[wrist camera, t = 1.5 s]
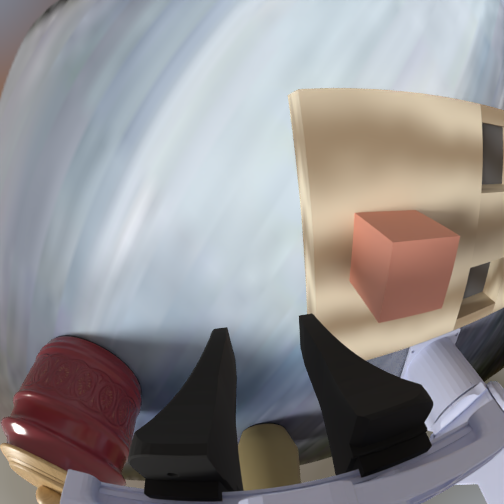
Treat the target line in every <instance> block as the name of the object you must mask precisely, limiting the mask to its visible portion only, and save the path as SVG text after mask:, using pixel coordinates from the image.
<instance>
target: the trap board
mask: <svg viewBox="0 0 504 504" xmlns="http://www.w3.org/2000/svg"><path fill="white" fill-rule="evenodd" d="M288 101H289V108H290V115H291V123H292V130H293V138H294V147H295V155H296V164H297V174H298V184H299V194H300V205H301V216H302V229H303V242H304V257H305V273H306V292H307V314H311V313H312V314H313V315H315V317H316V318H317V319H318V320H319V321H320V322H321V323H322V324H323V325H324V326H325V327H326V328H327V330H328V331H330V332H331V333H332V334H333V335H334V336H335V337H336V338H337V339H338V340H339V341H340V342H341V343H343V344H344V345H345V346H346V347H347V348H349V349H350V350H351V351H353V352H354V353H355V354H357V355H358V356H359V357H361V358H362V359H364V360H369V359H372V358H376V357H379V356H383V355H386V354H389V353H392V352H396V351H399V350H402V349H405V348H408V347H411V346H414V345H416V344H419V343H422V342H425V341H428V340H430V339H433V338H436V337H438V336H441V335H443V334H446V333H448V332H451V331H453V330H456V329H458V328H460V327H463V326H465V325H467V324H470V323H472V322H474V321H476V320H479V319H481V318H483V317H485V316H487V315H489V314H491V313H493V312H495V311H497V310H499V309H501V308H503V307H504V110H501V109H497V108H494V107H490V106H486V105H482V104H477V103H473V102H468V101H464V100H459V99H453V98H448V97H442V96H435V95H429V94H421V93H413V92H404V91H392V90H378V89H355V88H320V89H298V90H296V91H294V92H292V93H291V94H289V95H288ZM402 210H417V211H418V212H420V213H422V214H424V215H426V216H427V217H429V218H431V219H433V220H434V221H436V222H438V223H440V224H441V225H443V226H445V227H446V228H448V229H450V230H451V231H453V232H455V233H456V234H458V235H459V236H460V239H459V244H458V249H457V254H456V258H455V263H454V267H453V271H452V275H451V279H450V282H449V286H448V290H447V293H446V296H445V300H444V303H443V306H442V308H441V309H437V310H433V311H430V312H426V313H422V314H417V315H413V316H409V317H405V318H400V319H396V320H391V321H386V322H381V323H378V322H377V320H376V319H375V317H374V316H373V314H372V313H371V311H370V310H369V308H368V307H367V305H366V304H365V303H364V301H363V300H362V298H361V297H360V295H359V294H358V293H357V291H356V290H355V288H354V287H353V285H352V284H351V283H350V281H349V278H350V268H351V257H352V245H353V232H354V215H355V213H359V212H379V211H402Z"/></svg>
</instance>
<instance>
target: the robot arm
mask: <svg viewBox="0 0 504 504" xmlns="http://www.w3.org/2000/svg"><path fill="white" fill-rule="evenodd" d="M299 326H300V345H301V351H302V355H303V359H304V363H305V367H306V370H307V372H308V375H309V378H310V380H311V383H312V385H313V388H314V391H315V393H316V396H317V398H318V401H319V404H320V407H321V410H322V414H323V418H324V422H325V427H326V431H327V435H328V440H329V444H330V449H331V454H332V458H333V464H334V468H335V474H336V476H332V477H328V478H324V479H320V480H315V481H310V482H305V483H300V484H294V485H288V486H282V487H275V488H267V489H258V490H248V491H244V490H243V483H242V476H241V469H240V461H239V452H238V443H237V432H236V384H237V375H236V364H235V356H234V352H233V349H232V345H231V341H230V337H229V333H228V329H227V327H226V328H219V329H214V330H213V331H212V333H211V336H210V338H209V341H208V343H207V345H206V348H205V350H204V352H203V354H202V356H201V358H200V360H199V362H198V363H197V365H196V367H195V368H194V370H193V372H192V373H191V375H190V377H189V378H188V380H187V381H186V383H185V384H184V385H183V387H182V388H181V389H180V391H179V392H178V393H177V394H176V396H175V397H174V398H173V399H172V400H171V401H170V402H169V404H168V405H167V406H166V407H165V408H164V409H163V410H162V411H160V412H159V413H158V414H157V415H156V416H155V417H154V418H153V419H152V420H151V421H149V422H148V423H147V424H145V425H144V426H143V427H141V428H140V429H139V430H137V431H136V432H135V433H134V436H133V439H132V442H131V446H130V451H129V456H128V463H129V464H130V465H131V466H132V468H133V469H135V470H136V471H137V472H138V473H139V474H141V475H142V476H143V477H144V478H146V479H145V488H144V489H141V488H133V487H126V486H120V485H115V484H109V483H104V482H100V481H99V480H98V479H97V478H96V477H94V476H92V475H90V474H87V473H83V472H79V471H75V470H71V469H68V472H67V475H66V479H65V483H64V487H63V491H62V495H61V499H60V504H421V503H423V502H425V501H427V500H429V499H431V498H433V497H435V496H436V495H438V494H440V493H442V492H444V491H445V490H447V489H449V488H450V487H452V486H454V485H466V484H478V485H479V487H480V489H481V491H482V494H483V495H484V498H485V500H486V502H487V504H504V388H503V387H502V386H501V385H500V384H499V383H498V382H497V381H490V382H489V383H488V384H485V383H484V382H483V380H482V379H481V378H480V376H479V375H478V374H477V372H476V371H475V370H474V369H473V367H472V366H471V365H470V363H469V362H468V361H467V359H466V358H465V357H464V356H463V354H462V353H461V352H460V351H459V349H458V348H457V347H456V346H455V343H456V341H457V338H458V335H459V333H460V328H458V329H456V330H453V331H451V332H448V333H446V334H443V335H441V336H438V337H436V338H433V339H430V340H428V341H425V342H422V343H419V344H416V345H414V346H411V347H410V348H409V352H408V355H407V358H406V362H405V365H404V368H403V371H402V374H401V377H397V376H395V375H392V374H390V373H388V372H386V371H384V370H382V369H380V368H378V367H376V366H374V365H372V364H370V363H369V362H367V361H365V360H364V359H362V358H361V357H359V356H358V355H357V354H355V353H354V352H353V351H351V350H350V349H349V348H347V347H346V346H345V345H344V344H343V343H341V342H340V341H339V340H338V339H337V338H336V337H335V336H334V335H333V334H332V333H331V332H330V331H328V330H327V328H326V327H325V326H324V325H323V324H322V323H321V322H320V321H319V320H318V319H317V318H316V317H315V315H313V314H312V313H311V314H306V315H301V316H299ZM427 430H428V431H433V434H431V436H430V440H429V438H428V436H427V434H426V431H427Z"/></svg>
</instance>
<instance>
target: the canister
mask: <svg viewBox="0 0 504 504" xmlns="http://www.w3.org/2000/svg"><path fill="white" fill-rule="evenodd" d="M141 402H142V401H141V387H140V384H139V382H138V380H137V378H136V376H135V375H134V373H133V372H132V371H131V370H130V369H129V368H128V366H127V365H126V364H124V363H123V362H122V361H121V360H120V359H119V358H117V357H116V356H115V355H113V354H112V353H110V352H109V351H107V350H106V349H104V348H102V347H100V346H98V345H96V344H94V343H92V342H90V341H87V340H84V339H80V338H76V337H70V336H62V337H57V338H54V339H52V340H51V341H49V342H48V344H47V345H45V346H44V347H43V348H42V349H41V350H40V352H39V353H38V355H37V357H36V360H35V363H34V365H33V366H32V368H31V370H30V372H29V373H28V375H27V377H26V378H25V380H24V382H23V384H22V386H21V387H20V389H19V391H18V392H17V393H16V394H15V395H14V398H13V403H14V408H13V410H12V413H11V415H10V416H8V417H4V418H3V419H2V420H1V426H2V429H3V431H4V433H5V435H6V437H7V443H2V444H1V446H0V448H1V450H2V452H3V454H4V455H5V457H6V458H7V460H8V461H9V464H10V467H11V468H12V469H13V470H14V471H15V472H16V473H17V474H18V475H20V476H21V477H22V478H24V479H25V480H27V481H28V482H30V483H31V484H33V485H35V486H36V487H38V489H37V491H36V498H37V501H38V503H39V504H60V499H61V495H62V491H63V487H64V483H65V479H66V475H67V472H68V469H71V470H75V471H79V472H83V473H87V474H90V475H92V476H94V477H96V478H97V479H98V480H99V481H100V482H104V483H109V484H115V485H120V486H125V485H126V481H125V479H124V477H123V476H122V470H123V466H124V464H125V463H126V462H128V456H129V451H130V446H131V442H132V437H133V432H134V427H135V423H136V418H137V416H138V415H139V413H140V407H141Z"/></svg>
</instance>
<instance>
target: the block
mask: <svg viewBox="0 0 504 504" xmlns="http://www.w3.org/2000/svg"><path fill="white" fill-rule="evenodd" d="M459 239H460V236H459V235H458V234H456V233H455V232H453V231H451V230H450V229H448V228H446V227H445V226H443V225H441V224H440V223H438V222H436V221H434V220H433V219H431V218H429V217H427V216H426V215H424V214H422V213H420V212H418V211H417V210H402V211H379V212H359V213H355V215H354V232H353V245H352V257H351V268H350V278H349V281H350V283H351V284H352V285H353V287H354V288H355V290H356V291H357V293H358V294H359V295H360V297H361V298H362V300H363V301H364V303H365V304H366V305H367V307H368V308H369V310H370V311H371V313H372V314H373V316H374V317H375V319H376V320H377V322H378V323H381V322H386V321H391V320H396V319H400V318H405V317H409V316H413V315H417V314H422V313H426V312H430V311H433V310H437V309H441V308H442V306H443V303H444V300H445V296H446V293H447V290H448V286H449V282H450V279H451V275H452V271H453V267H454V263H455V258H456V254H457V249H458V244H459Z"/></svg>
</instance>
